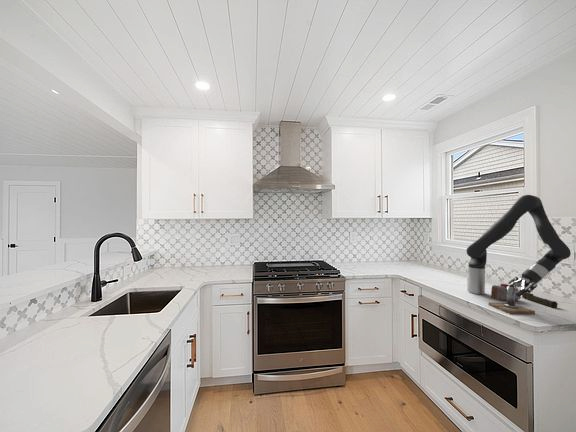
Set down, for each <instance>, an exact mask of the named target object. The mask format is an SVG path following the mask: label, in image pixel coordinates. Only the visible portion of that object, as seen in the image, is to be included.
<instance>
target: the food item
mask: <svg viewBox="0 0 576 432" xmlns="http://www.w3.org/2000/svg"><path fill="white" fill-rule="evenodd" d="M507 286H509V284H507V283H501V284H500V285H492V286H491V292H490V293H491V295H490V298H492V299H494V300H496V301H506V302H507V291H506V290H505V289H506V288H507ZM519 290H520V289H519V287H515V302H516V301H518V300H519V301H520V300H521V298H522V296H520V297H518V296H517V295H516V293H517V292H518V291H519Z"/></svg>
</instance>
